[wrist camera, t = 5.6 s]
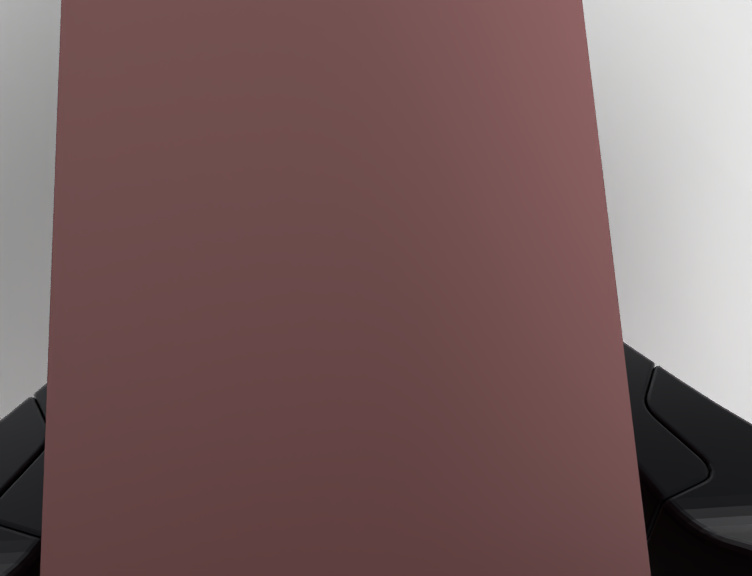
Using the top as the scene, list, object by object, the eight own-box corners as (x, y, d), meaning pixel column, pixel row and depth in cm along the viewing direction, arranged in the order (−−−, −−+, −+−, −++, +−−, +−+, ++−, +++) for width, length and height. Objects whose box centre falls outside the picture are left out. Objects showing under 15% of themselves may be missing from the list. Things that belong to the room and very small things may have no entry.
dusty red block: (414, 514, 15) (699, 978, 3) (287, 522, 15) (21, 1046, 3) (399, 266, 16) (563, -158, 4) (280, 271, 16) (66, -155, 4)
